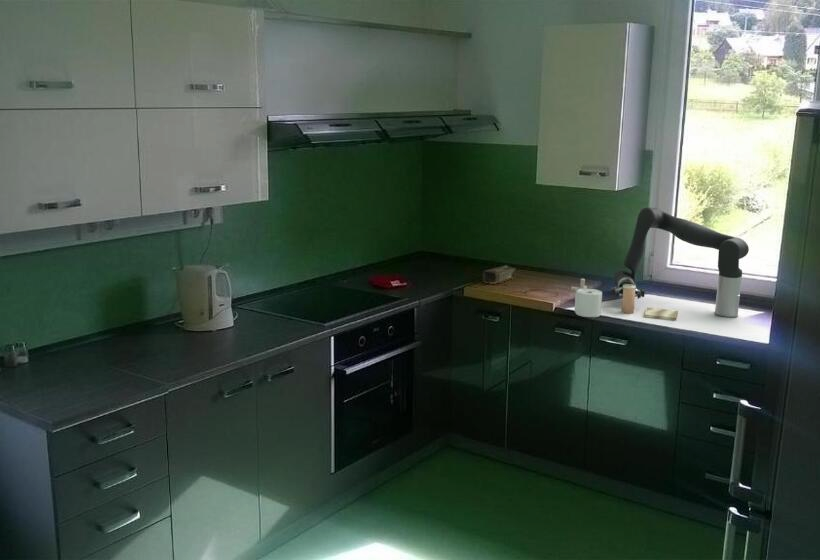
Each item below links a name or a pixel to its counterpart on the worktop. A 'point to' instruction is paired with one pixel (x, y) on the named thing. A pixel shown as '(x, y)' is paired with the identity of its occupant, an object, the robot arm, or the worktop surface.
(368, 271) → the worktop surface
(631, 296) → the terracotta jar
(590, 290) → the toilet tissue
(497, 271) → the beverage carton
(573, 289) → the pipe connector
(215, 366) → the worktop surface
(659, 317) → the birch board
